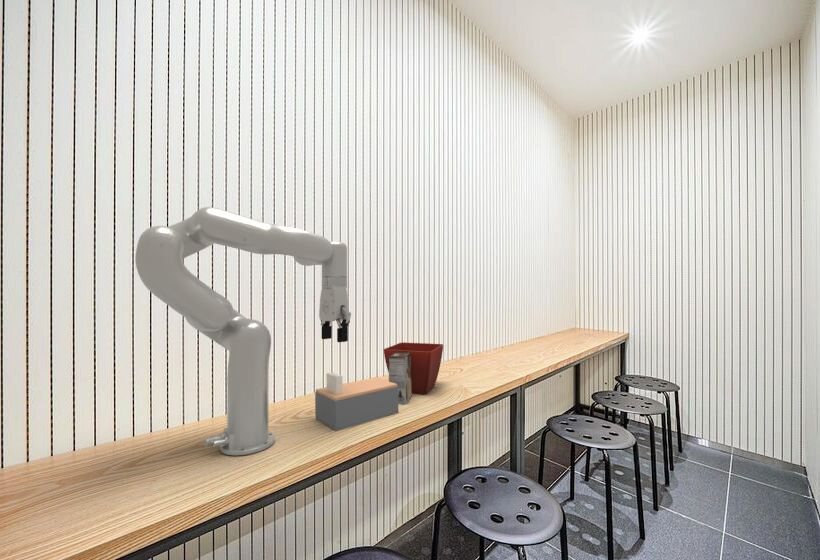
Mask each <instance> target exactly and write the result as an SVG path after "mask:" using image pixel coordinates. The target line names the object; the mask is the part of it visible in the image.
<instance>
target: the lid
mask: <svg viewBox="0 0 820 560" xmlns="http://www.w3.org/2000/svg"><path fill="white" fill-rule="evenodd" d="M394 387H397V384H395V383H392V382H389V380H384V379H382V378H379V377H370V378H366V379H361V380H356V381H351V382H345V383H343V375H341V374H338V373H335V372H328V373H326V386H325V387H322V388H316V389H315V392H317V393H319V394H321V395H323V396H325V397H328V398H330V399H332V400H334V401H338V400H342V399H347V398H351V397H355V396H360V395H364V394H368V393H372V392H377V391H381V390H385V389H390V388H394Z"/></svg>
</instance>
